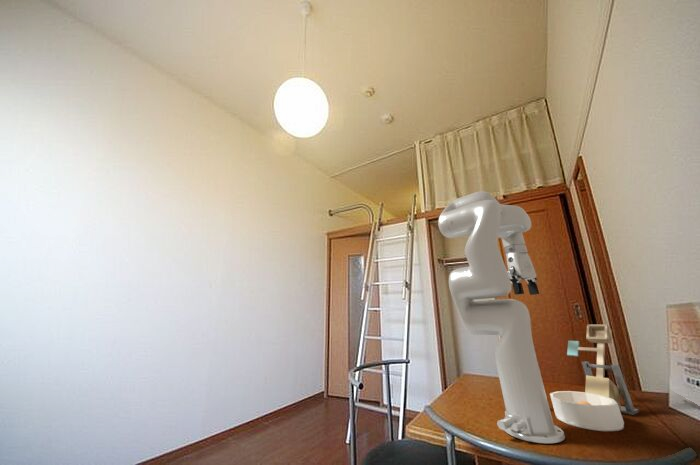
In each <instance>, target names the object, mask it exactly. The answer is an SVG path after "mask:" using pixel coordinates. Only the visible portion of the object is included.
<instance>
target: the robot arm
mask: <svg viewBox="0 0 700 465" xmlns="http://www.w3.org/2000/svg"><path fill="white" fill-rule="evenodd" d="M437 225H438V229H439V230H438V231H439V232H440V233H441V235H442V236H444V238H448V239H455V238H459V237H464V236H466V235H469V237H468V239H467V240H466V244H465V248H464V255H465V258H466V260H467V263H468V265H469V266H465V267H459V268H456V269H454V270H452V271H451V272H450V273H449V275H448V288H449V291H450V294H451V298H452V300H453V303H454V305H455V308H456V311H457V313H458V316H459V319H460V322H461V324H462V327H463V328H464V329H465V332H467V333H469V334H470V335H473V336H498V337H500V340H499V341H498V342H497V344H496V346H495V349H494V358H495V359H494V360H495V364H496V368H497V374H498V378H499V382H500V384H499V385H500V389H501V393H502V397H503V403H504V406H505V411H504V415H505V416H504V418H502V419H499V420H497V421H496V424H497V427H498V429H500V430H501V431H504V432H505V433H507V434H508V435H510V436H512V437H513V438H517V439H519V440H521V441H525V442H529V443H530V442H531V443H536V444H558V443H562V442H563V441H564V440H565V438H566V435H565V432H564V431H563V429H562V428H561V427H559V426H557V425H555V424H554V420H553V417H552V414H551V413H552V412H551V408H550V404H549V402H548V401H549V400H548V397H547V393H546V390H545V386H544V382H543V378H542V374H541V369H540V366H539V362H538V359H537V358H538V357H537V354H536V349H535V345H534V340H533V335H532V324H531V316H530V311H529V309H528V307H527V305H526V304H525V303H523V301H520V300H517V299H514V298H513V299H512V298H503V297H504V296H505V297H506V296H508V295H509V294H510V293H511V291H512V288H513V293H514V295H523V294H525V291H524V288H523V284H522V282H521V280H523V281H525V282H526V283H527V284H526V286H527V288H528V292H529V295H531V296H532V295H539V294H540V292H539V288H538V281H537V273H536V270H535V268H534V264H533V262H532V259H531V257H530V254H528V253H529V252H528V248H527V246H526V241H525V238H524V235H523V233H525V232H528V231H530V229H531V228H532V221H531V217H530V216H529V215H528V213H527V212H526V210H525V209H524V208H522V207H521V206H518V205H512V204H511V205H510V204H502V203H500V201H498V200H497V199H496V198H495V196H493V195H492V194H491V193H490V192H488V191H485V190H480V191H475V192H472V193H469V194H467V195H463V196H461V197H458V198H455V199H453V200H452V201H450V202H449V203H448V204H447V205H446V206H445V208H444V209H443V211H442V212H441V213H440V215H439V216H438V224H437ZM499 239H501V242H502V245H503V250H504V253H505V257H506V265H505V262H504V259H503V256H502V254H501V252H500V251H501V250H500V248H499ZM506 266H507V267H506ZM507 269H508V270H507ZM495 298H500V299H495ZM484 299H485V300H484ZM486 299H488V300H486ZM475 300H477V301H475ZM478 300H479V301H478Z"/></svg>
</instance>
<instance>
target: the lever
mask: <svg viewBox="0 0 700 465" xmlns="http://www.w3.org/2000/svg"><path fill="white" fill-rule="evenodd" d="M612 338H613V337H612V329H611V327H610V326H609V325H608V324H605V323H602V324H586V338H585V339H586V340H587V341H588V342H589V343H594V344H596V347H587V346H586V347H583V346H580V341H579V340H568V341H567V352H566V355H567V356H568V357H578V358H579V355H580V352H594V353H596V364H594V363H589V364H588V366H589V368H591V369H595V370H596V372H595V374H596V375H595V376H594V375H593V376H587V375H585V386H584V387H585V388H584V392H586V393H592V394H597V395H602V396H605V397H608V398H611V399H614V400H615V401H616V402H617V403H618V406H619V409H620V410H621V406H622V405H621V404H622V403H621V393H620V390H619V387H618V385H616V384H615V383H614V382H613V381H612V380H611V379H610V378H609V377H605V375H606V374H605V372H606V371H613V370H612V367H611V365H608V364H607V365H606V364H605V362H606V360H605V356H606V353H605V352H606V344H612ZM605 370H606V371H605Z"/></svg>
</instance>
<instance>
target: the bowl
mask: <svg viewBox="0 0 700 465" xmlns="http://www.w3.org/2000/svg"><path fill="white" fill-rule="evenodd" d="M549 396H550V400H551V403H552V407H553V408H552V409H553V411H554V414H555V418H556V419H557V420H558V421H560V422H562V423H564V424H567V425H569V426H572V427H576V428H580V429H586V430H589V431H596V432H597V431H598V432H618V431H622V430H624V429H625V421H624V418H623V415H622V413H621V412H620V409H619V406H618V403H617V402H616V401H615V400H614V399H611V398H608V397H605V396H602V395H597V394H592V393H586V392H585V391H574V390H573V391H572V390H567V391H566V390H562V391H561V390H560V391H553V392H550V393H549ZM580 401H586V402H588V403H590V404H591V405H586V404H578V403H579V402H580Z"/></svg>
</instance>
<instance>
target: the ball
mask: <svg viewBox="0 0 700 465" xmlns="http://www.w3.org/2000/svg"><path fill="white" fill-rule="evenodd" d="M578 404H586V405H591V404H590V403H588V402H586V401H580V402H579V403H578Z"/></svg>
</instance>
